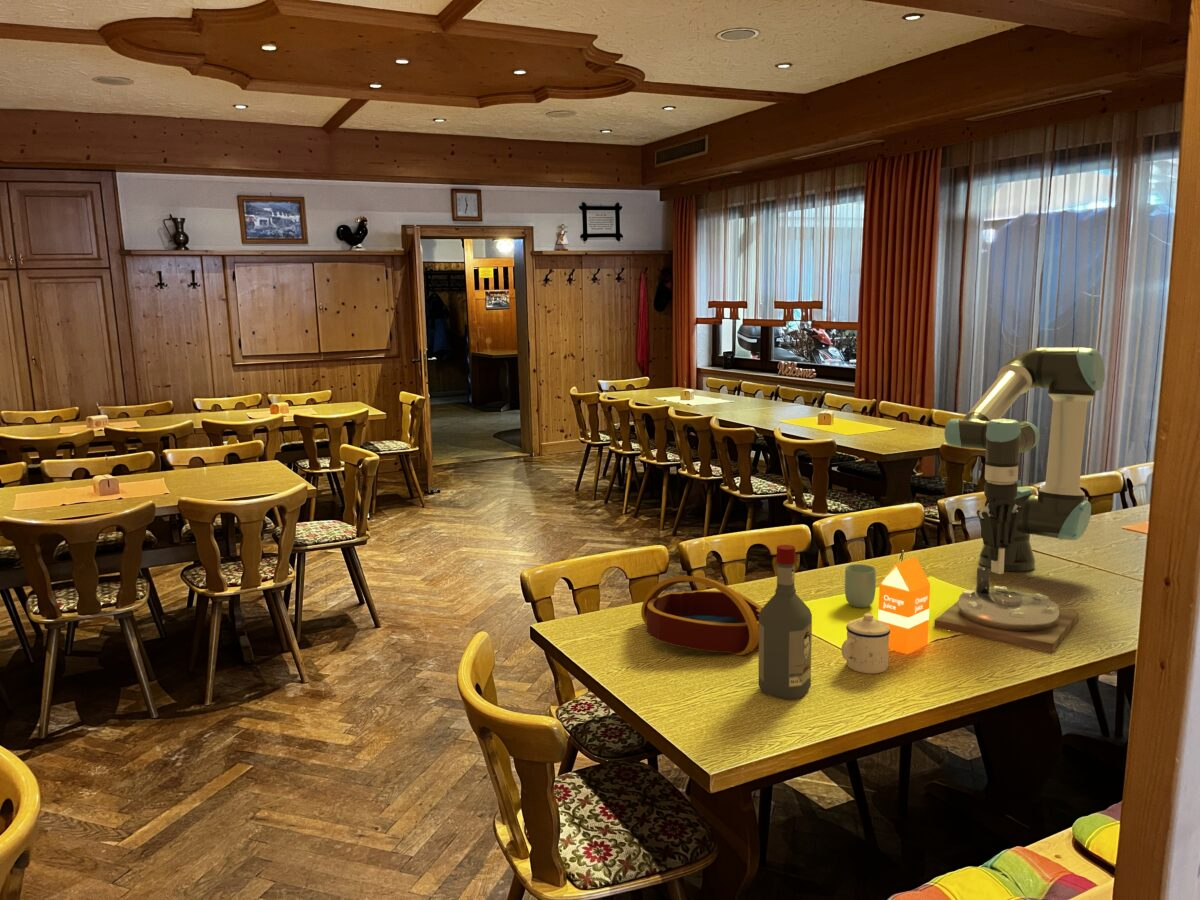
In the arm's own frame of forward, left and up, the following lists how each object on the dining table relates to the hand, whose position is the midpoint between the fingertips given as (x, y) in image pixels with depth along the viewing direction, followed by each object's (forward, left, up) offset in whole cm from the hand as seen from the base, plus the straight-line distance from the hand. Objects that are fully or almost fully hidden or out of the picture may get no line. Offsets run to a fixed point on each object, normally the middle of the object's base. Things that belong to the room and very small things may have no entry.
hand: (997, 572), depth 221 cm
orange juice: (+38, -10, -10) cm, 40 cm away
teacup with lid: (+56, -12, -10) cm, 58 cm away
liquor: (+76, -20, -10) cm, 79 cm away
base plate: (+10, +5, -10) cm, 15 cm away
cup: (+18, -29, -10) cm, 35 cm away
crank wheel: (+10, +5, -7) cm, 13 cm away
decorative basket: (+61, -50, -10) cm, 80 cm away
